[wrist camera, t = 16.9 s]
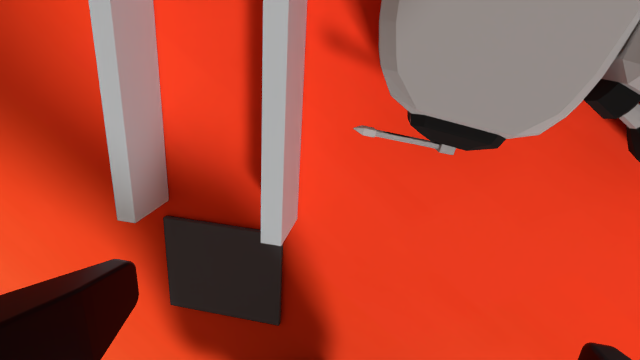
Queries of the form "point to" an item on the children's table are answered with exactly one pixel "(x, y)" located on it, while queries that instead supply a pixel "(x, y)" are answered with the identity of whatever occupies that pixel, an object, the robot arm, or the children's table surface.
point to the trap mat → (223, 270)
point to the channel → (146, 112)
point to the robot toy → (508, 67)
